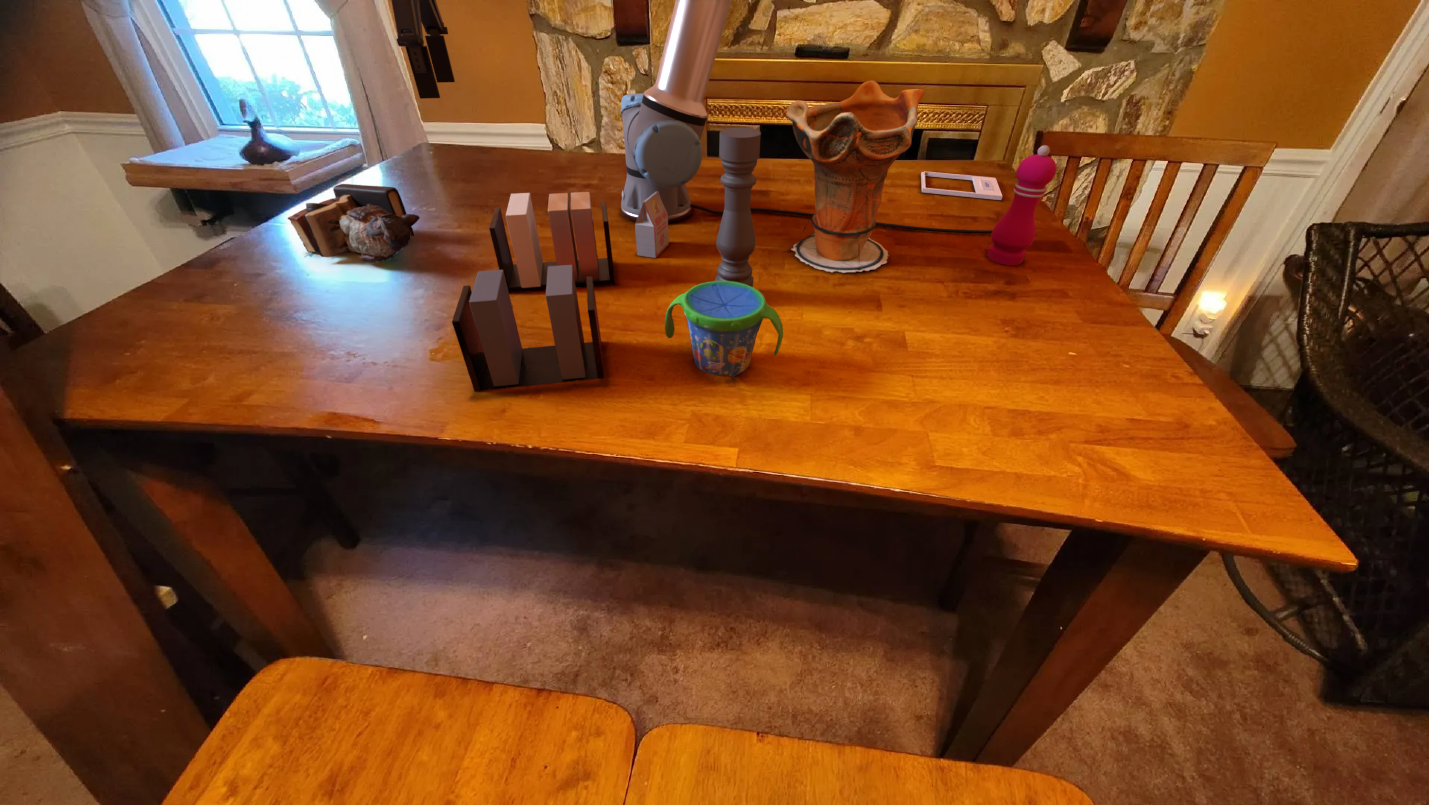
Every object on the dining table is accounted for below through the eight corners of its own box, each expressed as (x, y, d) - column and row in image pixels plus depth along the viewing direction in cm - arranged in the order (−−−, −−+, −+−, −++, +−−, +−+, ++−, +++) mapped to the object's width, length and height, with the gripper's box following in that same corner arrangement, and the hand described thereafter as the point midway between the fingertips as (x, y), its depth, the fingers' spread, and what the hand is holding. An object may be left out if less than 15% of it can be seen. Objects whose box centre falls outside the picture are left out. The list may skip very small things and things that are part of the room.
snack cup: (787, 357, 78) (795, 291, 71) (765, 400, 70) (771, 331, 63) (685, 334, 82) (684, 270, 75) (654, 373, 74) (649, 305, 68)
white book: (543, 261, 99) (529, 192, 91) (540, 286, 91) (526, 214, 83) (525, 262, 98) (510, 193, 91) (521, 287, 90) (505, 215, 83)
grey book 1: (522, 350, 76) (503, 269, 69) (518, 384, 70) (496, 299, 63) (500, 352, 76) (477, 271, 68) (493, 387, 70) (468, 302, 62)
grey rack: (602, 346, 79) (592, 275, 72) (604, 384, 72) (594, 309, 65) (484, 358, 76) (463, 285, 69) (476, 397, 70) (451, 321, 63)
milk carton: (637, 255, 103) (633, 201, 97) (651, 241, 108) (648, 189, 102) (655, 257, 103) (652, 203, 96) (668, 244, 108) (666, 191, 101)
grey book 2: (584, 344, 78) (572, 264, 70) (585, 377, 71) (572, 293, 64) (562, 346, 77) (547, 266, 70) (562, 379, 71) (545, 295, 63)
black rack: (612, 262, 101) (604, 189, 93) (615, 284, 94) (607, 208, 86) (509, 269, 98) (492, 195, 90) (505, 293, 91) (485, 215, 83)
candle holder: (726, 308, 88) (731, 140, 72) (708, 292, 92) (709, 129, 77) (759, 300, 90) (771, 135, 75) (740, 284, 95) (748, 125, 79)
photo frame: (1002, 195, 129) (922, 187, 133) (1001, 200, 130) (921, 192, 134) (995, 177, 140) (922, 170, 144) (994, 181, 141) (921, 174, 145)
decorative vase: (755, 256, 104) (766, 86, 86) (824, 223, 117) (846, 71, 100) (851, 292, 93) (885, 107, 75) (915, 252, 106) (957, 86, 89)
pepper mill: (1025, 254, 106) (1069, 143, 94) (1024, 269, 101) (1070, 153, 88) (985, 248, 108) (1022, 137, 96) (982, 262, 103) (1021, 147, 91)
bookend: (340, 182, 106) (443, 184, 98) (365, 238, 112) (463, 243, 104) (268, 204, 95) (377, 208, 87) (300, 265, 101) (404, 273, 93)
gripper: (385, -86, 83) (428, 76, 96) (329, -98, 64) (393, 106, 77) (438, -85, 84) (474, 75, 97) (399, -96, 65) (450, 105, 78)
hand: (438, 89), depth 87 cm, fingers open, 13 cm apart
